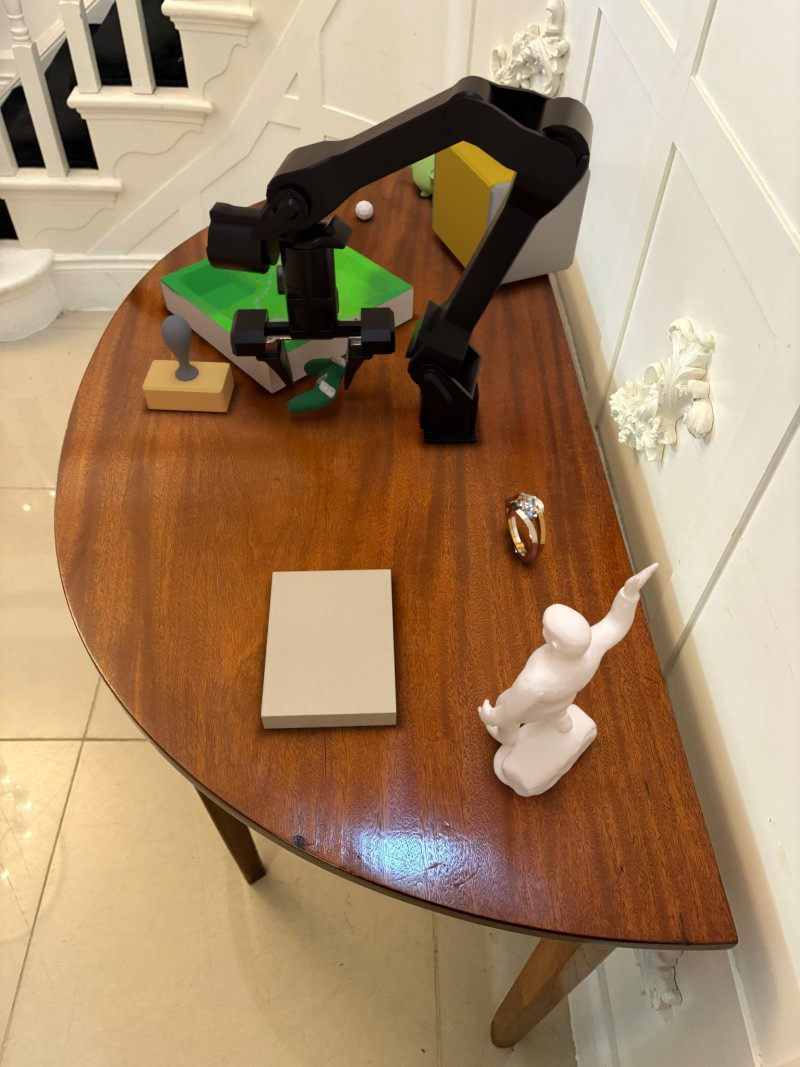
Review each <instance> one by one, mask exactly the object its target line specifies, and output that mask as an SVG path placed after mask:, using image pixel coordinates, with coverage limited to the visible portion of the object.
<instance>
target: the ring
mask: <svg viewBox="0 0 800 1067" xmlns="http://www.w3.org/2000/svg"><path fill="white" fill-rule="evenodd" d="M544 511H545V506H544V503H543V501H542V500H540V498H538V497H537V496H535V495H533V494H530V493H527V492H521V493H517V494H514V495H513V496H511V497H507V498H505V499H504V514H505V521H506V525H507V529H508V534H509V537H510V540H511V543H512V546H513V551H514V553H515V554H516V555H517V556H518V557H519V559H520V560H522V561H523V562H532V561H537V560H538V559H539V558H540V557H541V555H542V553H543V551H544V547H545V544H546V534H547V533H546V522H545V517H544V514H543V513H544ZM516 515H517V516H518V517H519V518H520V520H521V521H522V522H523V524H524V525H525V527H526V528H527V530H528V533H529V537H530V549H529V552H528V551H527V550H526V549H525V544H524V542H523V541H522V540H521V538H520V535H519V531H518V528H517V522H516ZM533 522H535V525H536V528H535V526H534V524H533ZM536 531H537V532H536Z"/></svg>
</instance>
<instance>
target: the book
mask: <svg viewBox="0 0 800 1067" xmlns="http://www.w3.org/2000/svg"><path fill="white" fill-rule="evenodd" d="M271 576H272V577H271V586H270V587H271V588H270V602H269V614H268V624H267V638H266V649H265V660H264V661H265V662H264V674H263V684H262V685H263V686H262V698H261V709H260V710H261V711H260V719H261V721H262V725H263V728H264V730H266V729H267V730H268V729H296V728H297V729H298V728H301V729H302V728H334V727H335V728H336V727H358V726H359V727H364V726H365V727H366V726H367V727H368V726H396V725H397V696H396V695H397V694H396V670H395V668H396V667H395V644H394V617H393V593H392V570H391V569H389V568H388V569H387V568H385V569H384V568H383V569H343V570H341V569H340V570H339V569H337V570H300V571H299V570H298V571H296V570H295V571H273V572H272V575H271Z"/></svg>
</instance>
